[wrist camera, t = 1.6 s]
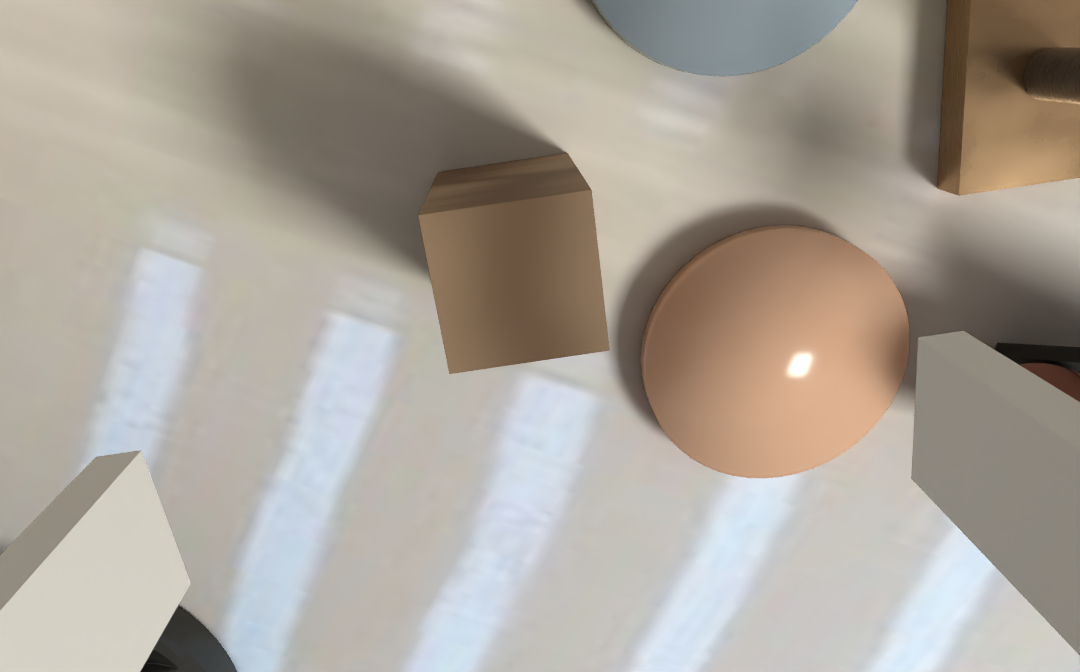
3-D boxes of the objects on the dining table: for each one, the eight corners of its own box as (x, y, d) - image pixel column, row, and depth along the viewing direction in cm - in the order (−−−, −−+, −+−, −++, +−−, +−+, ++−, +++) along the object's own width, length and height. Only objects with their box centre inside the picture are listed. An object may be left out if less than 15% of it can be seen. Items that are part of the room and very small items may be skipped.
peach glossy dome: (651, 480, 35) (656, 495, 33) (629, 246, 31) (633, 254, 29) (891, 444, 35) (905, 458, 33) (900, 206, 31) (915, 212, 29)
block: (460, 294, 31) (449, 373, 24) (438, 171, 29) (418, 215, 22) (582, 277, 31) (609, 350, 24) (567, 152, 29) (591, 189, 22)
